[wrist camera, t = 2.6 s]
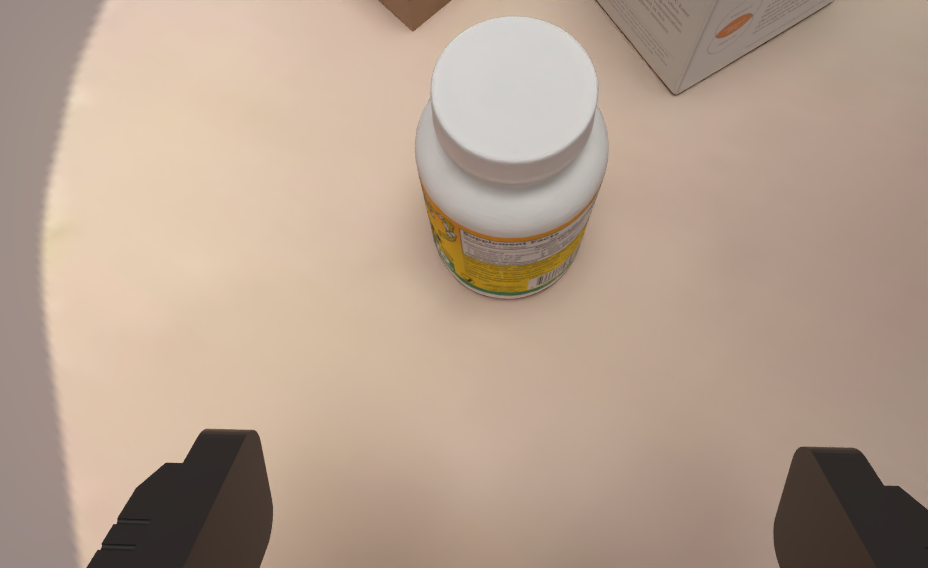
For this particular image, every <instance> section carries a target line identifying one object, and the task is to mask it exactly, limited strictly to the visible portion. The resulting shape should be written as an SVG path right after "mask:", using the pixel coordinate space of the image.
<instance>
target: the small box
mask: <svg viewBox="0 0 928 568" xmlns="http://www.w3.org/2000/svg"><path fill="white" fill-rule="evenodd" d="M832 1H834V0H597V2H598V3H599V4H600V5H601V6H602V8H603V9H604V10H605V11H606V12H607V14H608V15H609V16H610V17H611V19H612V20H613V21H614V22H615V23H616V25H617V26H618V27H619V28H620V29H621V31H622V32H623V33H624V34H625V36H626V37H627V38H628V39H629V40H630V42H631V43H632V44H633V45H634V47H635V48H636V49H637V50H638V52H639V53H640V54H641V56H642V57H643V58H644V59H645V60H646V62H647V63H648V64H649V65H650V66H651V68H652V69H653V70H654V71H655V73H656V74H657V75H658V76H659V77H660V78H661V80H662V81H663V82H664V83H665V84H666V86H667V87H668V88H669V89H670V90H671V92H672V93H674V94H679V93H681V92H682V91H684V90H686V89H687V88H689V87H691V86H692V85H694V84H696V83H697V82H699V81H701V80H703V79H704V78H706V77H708V76H709V75H711V74H713V73H714V72H716V71H718V70H720V69H721V68H723V67H725V66H726V65H728V64H730V63H731V62H733V61H735V60H736V59H738V58H740V57H741V56H743V55H745V54H746V53H748V52H750V51H751V50H753V49H755V48H756V47H758V46H760V45H761V44H763V43H765V42H766V41H768V40H770V39H771V38H773V37H775V36H776V35H778V34H780V33H781V32H783V31H785V30H786V29H788V28H790V27H791V26H793V25H795V24H796V23H798V22H800V21H801V20H803V19H805V18H806V17H808V16H809V15H811V14H813V13H814V12H816V11H818V10H819V9H821V8H822V7H824V6H826V5H827V4H829V3H831V2H832Z"/></svg>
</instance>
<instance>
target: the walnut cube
mask: <svg viewBox="0 0 928 568" xmlns="http://www.w3.org/2000/svg"><path fill="white" fill-rule="evenodd" d="M379 1H380V2H381V3H382V4H383V5H384V6H385V7H386V8H387V9H389V10H390V11H391V12H392V13H393V14H394V15H395V16H396V17H397V18H398V19H400V20H401V21H402V22H403V23H404V24H405V25H406V26H407V27H408V28H409V29H410V30H412V31H414V30H416V29H417V28H418V27H419V26H421V25H422V24H423V23H424V22H425V21H427V20H428V19H429V18H430V17H431V16H433V15H434V14H435V13H436V12H438V11H439V10H440V9H441V8H442V7H444V6H445V5H446V4H447V3H449V2H450V1H451V0H379Z"/></svg>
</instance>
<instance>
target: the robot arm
mask: <svg viewBox="0 0 928 568" xmlns="http://www.w3.org/2000/svg"><path fill="white" fill-rule="evenodd" d="M117 519H118V521H117V524H113V526H112V528H111V529H110V531H109V532H108V534H107V536H106V537H105V539H104V540H103V542H102V548H101V550H97V552H96V553H95V555H94V557H93V558H92V560H91V561H90V563H89V565H88V566H87V568H260V565H261V562H262V560H263V557H264V554H265V551H266V549H267V546H268V543H269V539H270V534H271V529H272V521H273V504H272V498H271V492H270V487H269V482H268V477H267V472H266V467H265V461H264V456H263V451H262V446H261V441H260V437H259V435H258V433H257V432H256V431H255V430H233V429H205V430H203V431H202V432H201V433H200V434H199V436H198V437H197V439H196V441H195V443H194V444H193V446H192V448H191V450H190V451H189V453H188V455H187V457H186V458H185V460H184V462H183V463H165V464H164V465H163V466H161V467H160V468H159V469H158V470H157V471H156V472H154V473H153V474H152V475H151V476H150V477H149V478H147V479H146V480H145V481H144V482H143V483H142V484H140V485H139V486H138V487H137V488H136V489H135V491H134V492H133V494H132V496H131V497H130V499H129V500H128V502H127V504H126V505H125V507H124V508H123V510H122V512H121V513H120V515H119V516H118V518H117ZM773 533H774V546H775V552H776V556H777V560H778V563H779V566H780V568H928V510H927V509H926V508H925V507H924V506H922V505H921V504H920V503H919V502H917V501H916V500H915V499H914V498H913V497H911V496H910V495H909V494H908V493H907V492H905V491H904V490H903V489H902V488H900V487H899V486H884V485H883V483H882V482H881V480H880V479H879V477H878V476H877V474H876V473H875V471H874V470H873V468H872V467H871V465H870V463H869V462H868V460H867V459H866V457H865V456H864V455H863V454H862V453H861V452H860V451H859V450H857V449H855V448H836V447H800V448H798V449H797V450H796V452H795V454H794V456H793V459H792V462H791V466H790V469H789V472H788V476H787V479H786V483H785V486H784V490H783V493H782V496H781V500H780V503H779V507H778V510H777V513H776V517H775V521H774V532H773Z"/></svg>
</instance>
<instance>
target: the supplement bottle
mask: <svg viewBox="0 0 928 568" xmlns="http://www.w3.org/2000/svg"><path fill="white" fill-rule="evenodd" d="M430 94H431V98H430V99H429V101H428V103H427V104H426V106H425V108H424V110H423V112H422V115H421V117H420V120H419V123H418V127H417V132H416V139H415V156H416V163H417V168H418V173H419V178H420V182H421V186H422V190H423V194H424V199H425V203H426V207H427V213H428V216H429V220H430V224H431V228H432V233H433V237H434V241H435V244H436V247H437V250H438V252H439V255H440V257H441V258H442V260H443V262H444V263H445V265H446V266H447V268H448V269H449V271H450V272H451V273H452V274H453V275H454V277H455V278H456V279H457V280H458V281H460V282H461V283H462V284H463V285H464V286H466V287H467V288H469V289H471V290H473V291H475V292H477V293H479V294H482V295H485V296H489V297H494V298H505V299H512V298H521V297H525V296H529V295H532V294H535V293H537V292H540V291H542V290H544V289H545V288H547V287H549V286H550V285H552V284H553V283H554V282H556V281H557V280H558V279H559V278H560V277H561V276H562V275H563V274H564V273H565V272H566V271H567V269H568V268H569V266H570V265H571V263H572V262H573V260H574V258H575V256H576V254H577V252H578V249H579V247H580V244H581V241H582V238H583V235H584V231H585V228H586V225H587V222H588V219H589V216H590V214H591V211H592V208H593V206H594V203H595V200H596V198H597V195H598V192H599V189H600V186H601V183H602V180H603V177H604V174H605V170H606V166H607V160H608V135H607V129H606V125H605V122H604V118H603V116H602V113H601V111H600V109H599V107H598V105H597V101H598V80H597V75H596V71H595V68H594V66H593V63H592V61H591V59H590V57H589V56H588V54H587V52H586V51H585V49H584V48H583V47H582V46H581V45H580V44H579V43H578V42H577V40H576V39H574V38H573V37H572V36H571V35H570V34H568V33H567V32H566V31H564V30H562V29H561V28H559V27H557V26H555V25H553V24H550V23H548V22H546V21H543V20H539V19H536V18H530V17H522V16H506V17H498V18H494V19H490V20H486V21H483V22H480V23H478V24H475V25H473V26H471V27H469V28H468V29H466V30H465V31H463V32H462V33H460V34H459V35H458V36H457V37H455V38H454V39H453V40H452V41H451V42H450V43H449V44H448V45H447V47H446V48H445V49H444V51H443V52H442V54H441V56H440V57H439V59H438V61H437V63H436V65H435V68H434V71H433V75H432V80H431V93H430Z"/></svg>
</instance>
